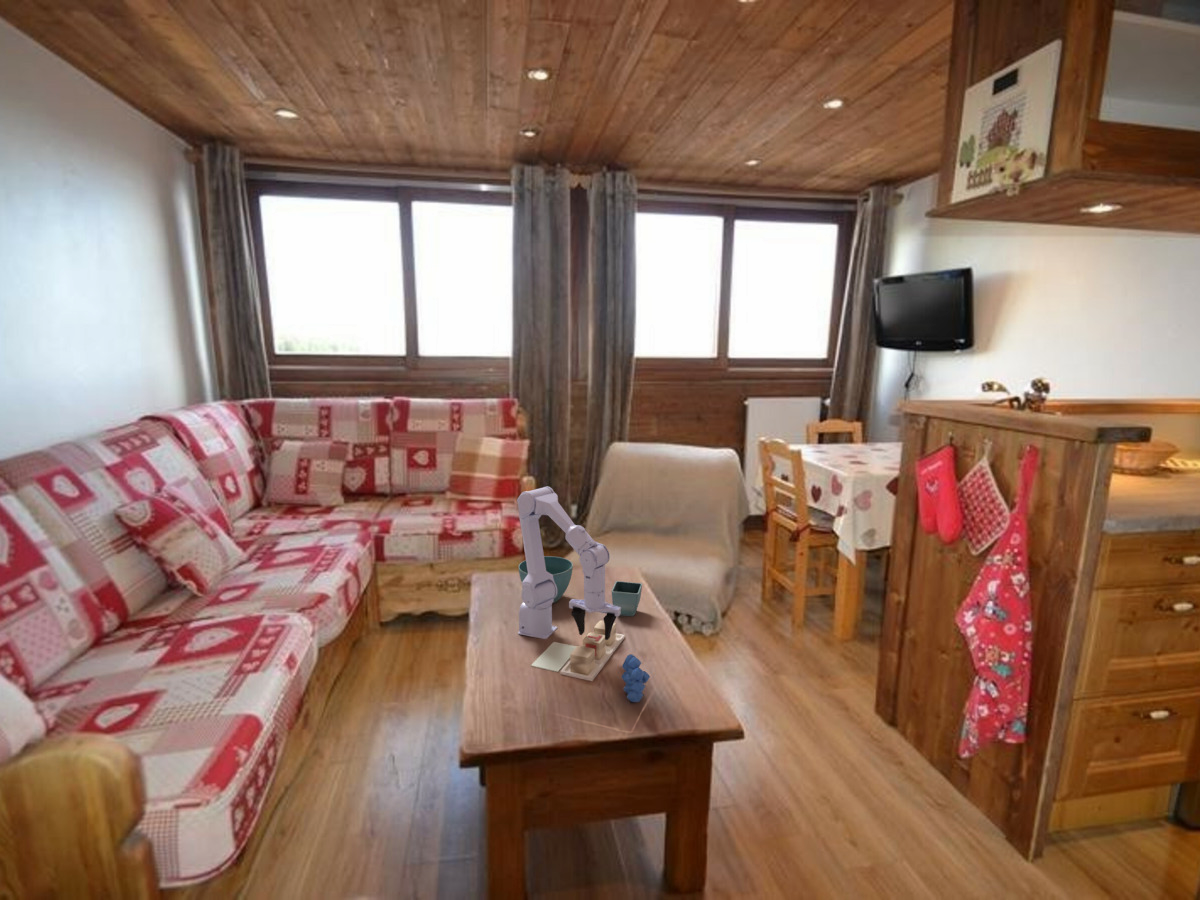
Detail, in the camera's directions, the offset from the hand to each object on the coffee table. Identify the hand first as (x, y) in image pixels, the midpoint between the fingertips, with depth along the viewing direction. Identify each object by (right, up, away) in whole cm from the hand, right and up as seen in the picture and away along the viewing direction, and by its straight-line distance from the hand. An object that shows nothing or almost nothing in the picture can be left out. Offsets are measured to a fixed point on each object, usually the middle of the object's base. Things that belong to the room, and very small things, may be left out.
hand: (594, 635), depth 165 cm
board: (-11, -6, 0) cm, 12 cm away
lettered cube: (0, -6, +1) cm, 6 cm away
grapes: (+10, -10, -20) cm, 24 cm away
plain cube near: (-3, -7, -7) cm, 10 cm away
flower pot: (+10, -2, +28) cm, 30 cm away
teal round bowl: (-17, 0, +38) cm, 42 cm away
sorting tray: (0, -6, +1) cm, 6 cm away
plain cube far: (+3, -4, +9) cm, 10 cm away
